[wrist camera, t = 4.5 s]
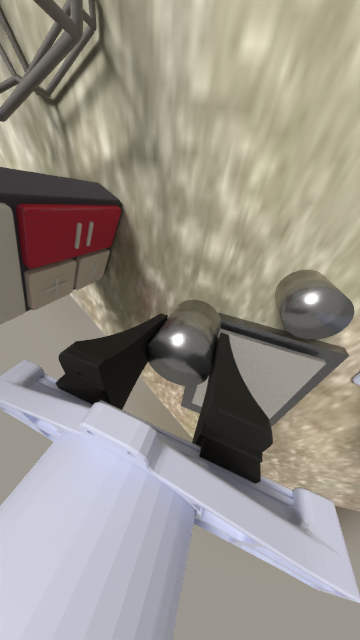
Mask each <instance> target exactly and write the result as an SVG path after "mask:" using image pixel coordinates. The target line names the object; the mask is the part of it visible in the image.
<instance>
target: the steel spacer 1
mask: <svg viewBox="0 0 360 640" xmlns="http://www.w3.org/2000/svg"><path fill="white" fill-rule="evenodd" d="M220 329H221V319H220V316H219V314H218V313H217V311H216V310H215V309H214V308H213V307H212V306H210V305H209V304H207V303H205V302H203V301H199V300H187V301H184V302H182V303H180V304H179V305H178V306H177V307H176V309H175V310H174V311H173V313H172V314H171V315H170V317H169V318H168V319H167V321H166V322H165V323H164V325H163V326H162V327H161V329H160V330H159V331H158V333H157V334H156V335H155V337H154V338H153V339H152V341H151V342H150V343H149V345H148V347H147V350H146V354H147V359H148V361H149V363H150V365H151V366H152V368H153V369H154V370H155V371H156V372H157V373H158V374H159V375H161V376H162V377H164V378H165V379H167V380H169V381H171V382H173V383H176V384H179V385H184V386H195V385H199V384H201V383H203V382H205V381H206V380H207V378H208V376H209V373H210V369H211V365H212V361H213V357H214V353H215V349H216V345H217V341H218V337H219V333H220Z"/></svg>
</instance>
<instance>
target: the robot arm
mask: <svg viewBox="0 0 360 640" xmlns="http://www.w3.org/2000/svg"><path fill="white" fill-rule="evenodd" d="M167 317H168V315H164V314H159V315H157V316H155V317H154V318H152V319H150V320H148V321H146V322H144V323H142V324H140V325H138V326H136V327H134V328H131V329H129V330H126V331H123V332H120V333H117V334H114V335H110V336H106V337H102V338H97V339H92V340H84V341H76V342H75V343H73V344H72V345H71V346H70V347H68V348H67V349H65V350H64V351H63V352H61V353H60V355H59V361H60V363H61V366H62V368H63V370H64V372H65V375H64V376H62V377H61V378H60V379H59V380H57V379H55V378H53V377H51V376H49V375H47V374H45V373H44V371H43V369H42V368H41V367H40V366H39V365H37V364H35V363H33V362H30V361H28V360H24V361H23V362H21V363H20V364H18V365H17V366H15V367H14V368H12V369H11V370H9V371H8V372H6V373H5V374H3V375H2V376H0V408H1V409H2V410H3V411H5V412H7V413H8V414H10V415H12V416H13V417H15V418H17V419H18V420H20V421H22V422H23V423H25V424H26V425H28V426H30V427H31V428H33V429H34V430H36V431H38V432H39V433H41V434H42V435H44V436H45V437H47V438H49V439H50V440H52V441H53V442H54V443H53V444H52V445H51V446H50V448H49V449H48V450H47V451H46V452H45V453H44V455H43V456H42V457H41V458H40V459H39V461H38V462H37V463H36V464H35V465H34V467H33V468H32V469H31V470H30V471H29V472H28V474H27V475H26V476H25V477H24V478H23V480H22V481H21V482H20V483H19V485H18V486H17V487H16V488H15V489H14V490H13V492H12V493H11V494H10V495H9V497H8V498H7V499H6V500H5V501H4V502H3V503H2V505H1V506H0V640H173V634H174V629H175V623H176V617H177V612H178V607H179V600H180V595H181V590H182V585H183V579H184V573H185V568H186V562H187V557H188V551H189V546H190V540H191V535H192V529H193V524H195V525H197V526H200V527H201V528H203V529H205V530H207V531H209V532H211V533H213V534H215V535H217V536H218V537H220V538H222V539H224V540H226V541H228V542H230V543H232V544H234V545H235V546H237V547H239V548H241V549H243V550H245V551H247V552H249V553H251V554H253V555H255V556H256V557H258V558H260V559H262V560H264V561H266V562H268V563H269V564H271V565H273V566H275V567H277V568H279V569H280V570H282V571H284V572H286V573H288V574H290V575H291V576H293V577H295V578H297V579H298V580H300V581H302V582H304V583H306V584H307V585H309V586H311V587H313V588H314V589H317V590H320V591H323V592H327V593H330V594H332V595H336V596H339V597H342V598H345V599H348V600H352V601H355V602H358V603H360V595H359V591H358V587H357V584H356V580H355V576H354V573H353V569H352V566H351V562H350V559H349V555H348V552H347V548H346V545H345V541H344V537H343V534H342V530H341V528H340V523H339V520H338V516H337V513H336V509H335V505H334V503H333V502H332V501H331V500H329V499H327V498H325V497H323V496H321V495H319V494H316V493H314V492H312V491H310V490H308V489H305V488H300V487H299V488H295V489H293V490H291V489H289V488H287V487H285V486H282V485H280V484H278V483H276V482H274V481H272V480H270V479H268V478H265V477H263V476H261V472H260V462H262V452H263V451H265V450H266V449H267V448H269V447H270V446H271V445H272V444H273V437H272V430H271V425H270V421H269V418H268V417H267V415H266V414H265V413H264V411H263V410H262V409H261V407H260V406H259V405H258V403H257V402H256V400H255V399H254V397H253V396H252V394H251V392H250V391H249V389H248V387H247V386H246V384H245V382H244V380H243V378H242V376H241V374H240V372H239V370H238V367H237V364H236V362H235V359H234V356H233V352H232V349H231V344H230V338H229V335H228V334H225V333H222V332H220V335H219V338H218V341H217V345H216V349H215V353H214V357H213V361H212V365H211V369H210V373H209V377H208V384H207V389H206V393H205V397H204V401H203V405H202V408H201V412H200V416H199V420H198V423H197V427H196V431H195V434H194V438H193V441H192V443H191V442H189V441H187V440H185V439H182V438H181V437H178V436H176V435H174V434H172V433H170V432H168V431H166V430H164V429H161V428H159V427H157V426H155V425H153V424H151V423H149V422H147V421H144V420H142V419H140V418H138V417H136V416H134V415H132V414H129V413H127V412H125V411H123V410H122V409H123V407H124V405H125V403H126V401H127V399H128V397H129V395H130V393H131V391H132V389H133V387H134V385H135V383H136V381H137V379H138V377H139V376H140V374H141V372H142V370H143V369H144V367H145V365H146V364H147V362H148V359H147V354H146V350H147V347H148V345H149V343H150V342H151V341H152V339H153V338H154V337H155V335H156V334H157V333H158V331H159V330H160V329H161V327H162V326H163V325H164V323H165V322H166V321H167ZM352 380H353V382H354V383H355V384H358V385H360V373H359V374H357V375H356V376H355V377H354V378H353V379H352Z"/></svg>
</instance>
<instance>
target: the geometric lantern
mask: <svg viewBox="0 0 360 640" xmlns="http://www.w3.org/2000/svg"><path fill="white" fill-rule="evenodd" d="M34 1H35V2H36V3H37V4H38V5H39V6H40V7H41V8H42V9H43V10H44V11H45V12H46V13H47V14H48V15H49V16H50V17H51V18H52V19H53V20H54V21H55V22H54V24H53V26H52V28H51V29H50V31H49V33H48V34H47V36H46V38H45V40H44V41H43V43H42V45H41V47H40V48H39V50H38V52H37V54H36V55H35V57H34V59H33V61H32V62H31V64H30V66H29V68H28V67H27V65H26V63H25V61H24V58H23V56H22V54H21V52H20V50H19V48H18V46H17V44H16V41H15V39H14V37H13V35H12V33H11V31H10V29H9V27H8V24H7V22H6V20H5V18H4V16H3V14H2V12H1V10H0V20H1V22H2V25H3V27H4V29H5V31H6V33H7V35H8V37H9V39H10V41H11V43H12V45H13V48H14V50H15V52H16V54H17V56H18V58H19V60H20V62H21V64H22V66H23V68H24V70H25V74H24V76H23V78H22V77H20V76H19V75H17V74H16V72H15V70H14V68H13V66H12V64H11V62H10V61H9V59H8V57H7V55H6V53H5V51H4V49H3V47H2V46H1V44H0V54H1V56H2V58H3V59H4V61H5V63H6V65H7V67H8V69H9V71H10V72H11V74H12V77H11V78H9V79H7V80H5V81H3V82H2V83H0V94H1V93H2V92H4V91H6V90H8V89H9V88H11V87H13V86H15V85H17V84H18V83H19V84H18V86H17V87H16V88H15V90H14V91H13V92H12V94H11V95H10V96H9V97H8V99H7V100H6V101H5V102H4V103H3V105H2V106H1V107H0V121H2V122H4V121H6V120H7V119H8V118H9V117H10V116H11V115H12V114H13V113H14V111H15V110H16V109H17V108H18V107H19V106H20V105H21V104H22V103H23V102H24V101H25V100H26V99H27V97H28V96H29V95H30V94H31V93H32V92H33V91H35V92H36V94H38V95H40V96H45V97H50V95H51V94H52V92H53V91H54V90H55V88H56V87H57V85H58V84H59V82H60V81H61V79H62V78H63V77H64V75H65V74H66V72H67V71H68V69H69V68H70V67H71V65H72V64H73V62H74V61H75V59H76V58H77V57H78V55H79V54H80V52H81V51H82V49H83V48H84V47H85V45H86V44H87V42H88V41H89V39H90V38H91V37H92V35H93V34H94V31H96V13H95V0H89V9H90V16H89V15H88V14H87V13H86V12H85V11H84V10H83V3H82V0H67V1H66V3H65V5H64V7H63V8H62V9H61V8H60V7H59V6H58V5H57V4H56V3H55V2H54V1H53V0H34ZM70 15H71V18H70ZM83 20H84V21H85V22H86V23H87V24H88V27H87V28H86V30H85V31H84V33H83ZM62 29H64V30H65V32H64V33H63V34H62V35H61V36H60V37H59V39H58V40H57V41H56V42H55V40H56V38H57V37H58V35H59V33H60V32H61V30H62ZM54 42H55V43H54ZM53 43H54V45H53ZM52 45H53V46H52ZM71 50H72V51H71ZM70 51H71V52H70ZM69 52H70V54H69V55H68V57H67V58H66V60H65V61H64V63H63V64H62V66H61V67H60V69H59V70H58V72H57V73H56V75H55V76H54V78H53V79H52V81H51V82H50V84H49V85H48V87H47V88H46V90H45V89H43V88H41V87H39V85H40V83H41V82H42V81H43V80H44V79H45V78H46V77H47V76H48V75H49V74H50V73H51V72H52V71H53V70H54V68H55V67H56V66H57V65H58V64H59V63H60V62H61V61H62V60H63V59H64V58H65V57H66V56H67V54H68V53H69Z"/></svg>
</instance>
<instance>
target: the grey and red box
mask: <svg viewBox="0 0 360 640" xmlns="http://www.w3.org/2000/svg"><path fill="white" fill-rule="evenodd" d="M120 205H121V202H120V200H119V199H118V198H116V197H115V196H114V195H113V194H111V193H110V192H109V191H108V190H106V189H105V188H104V187H103V186H101V185H100V184H99V183H95V182H89V181H83V180H77V179H71V178H65V177H58V176H52V175H46V174H40V173H34V172H28V171H22V170H16V169H9V168H3V167H0V324H2V323H4V322H7V321H9V320H11V319H13V318H15V317H17V316H20V315H22V314H23V313H25V312H26V311H28V310H31V309H32V310H36V309H38V308H41V307H43V306H45V305H47V304H49V303H51V302H53V301H55V300H57V299H59V298H62V297H64V296H66V295H68V294H70V293H72V291H73V290H74V289H76V290H78V289H81V288H83V287H85V286H87V285H89V284H91V283H93V282H95V281H97V280H99V279H101V278H103V275H104V271H105V268H106V264H107V261H108V257H109V254H110V251H109V250H108V249H109V247H111V246H112V243H113V239H114V236H115V232H116V229H117V225H118V222H119V218H120V215H121V208H120Z"/></svg>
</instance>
